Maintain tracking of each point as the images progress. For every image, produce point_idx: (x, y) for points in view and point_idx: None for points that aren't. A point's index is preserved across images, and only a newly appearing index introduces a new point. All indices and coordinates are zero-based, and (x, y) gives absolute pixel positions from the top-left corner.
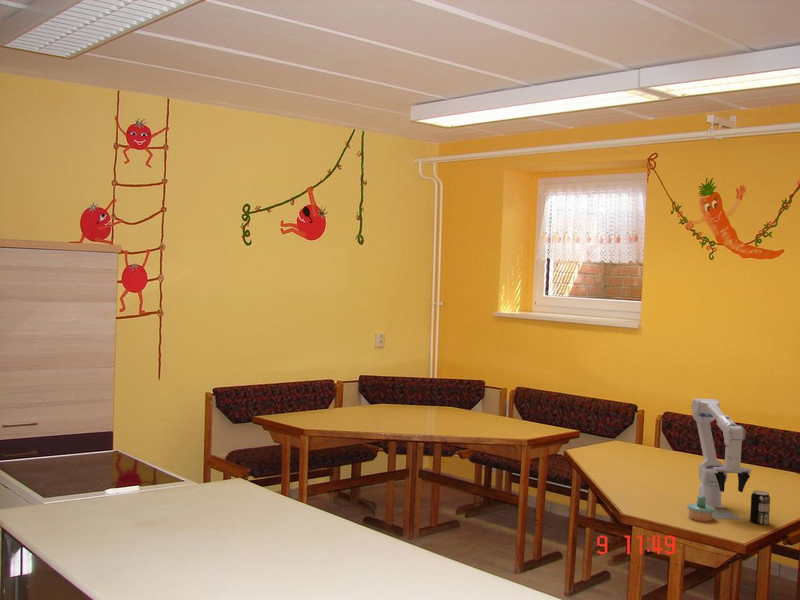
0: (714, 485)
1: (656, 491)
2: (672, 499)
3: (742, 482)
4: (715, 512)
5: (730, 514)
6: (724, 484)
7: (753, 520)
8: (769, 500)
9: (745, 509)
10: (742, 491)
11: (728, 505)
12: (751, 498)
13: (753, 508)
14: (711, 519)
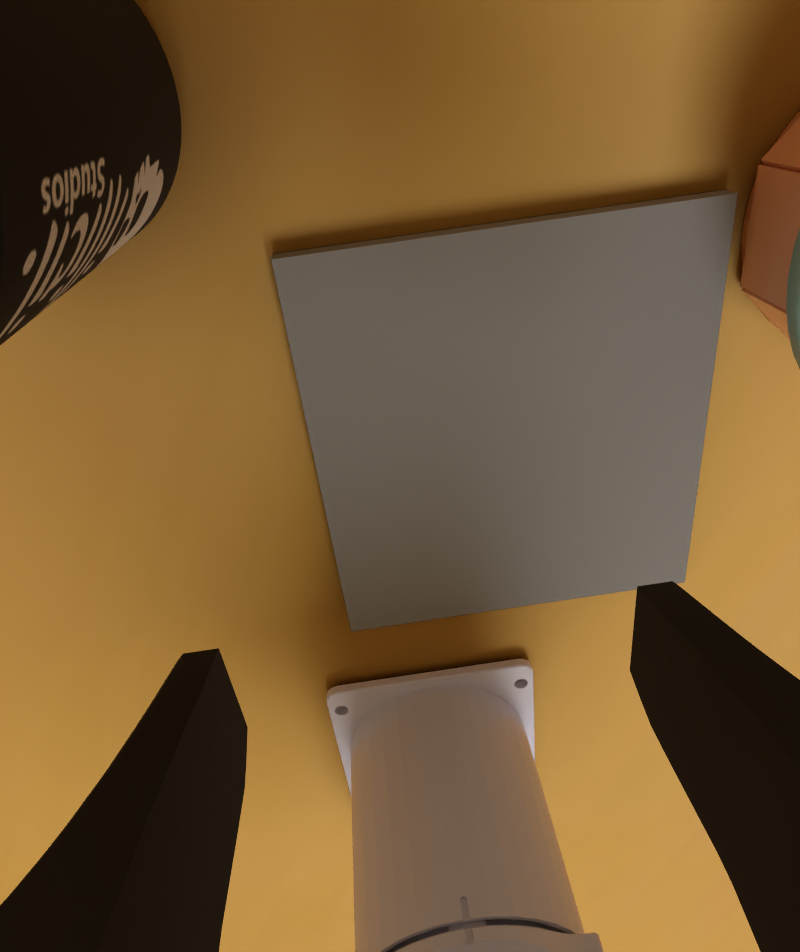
0: (503, 935)
1: (703, 936)
2: None
3: (140, 884)
4: (535, 496)
5: (373, 450)
6: (752, 713)
7: (138, 19)
8: None
9: (109, 704)
10: (180, 663)
11: (254, 777)
12: (34, 171)
13: (73, 14)
14: (791, 135)
